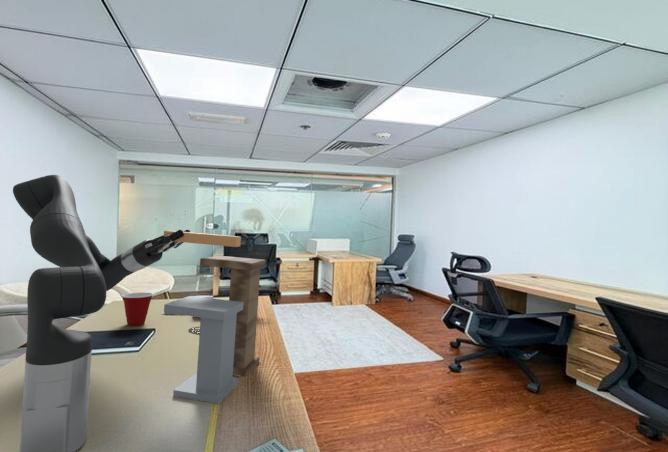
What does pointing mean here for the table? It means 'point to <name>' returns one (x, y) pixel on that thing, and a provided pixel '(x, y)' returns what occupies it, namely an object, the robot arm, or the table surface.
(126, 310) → the plastic cup
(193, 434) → the table surface
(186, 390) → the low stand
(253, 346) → the tall stand
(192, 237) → the bar
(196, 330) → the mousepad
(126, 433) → the table surface
